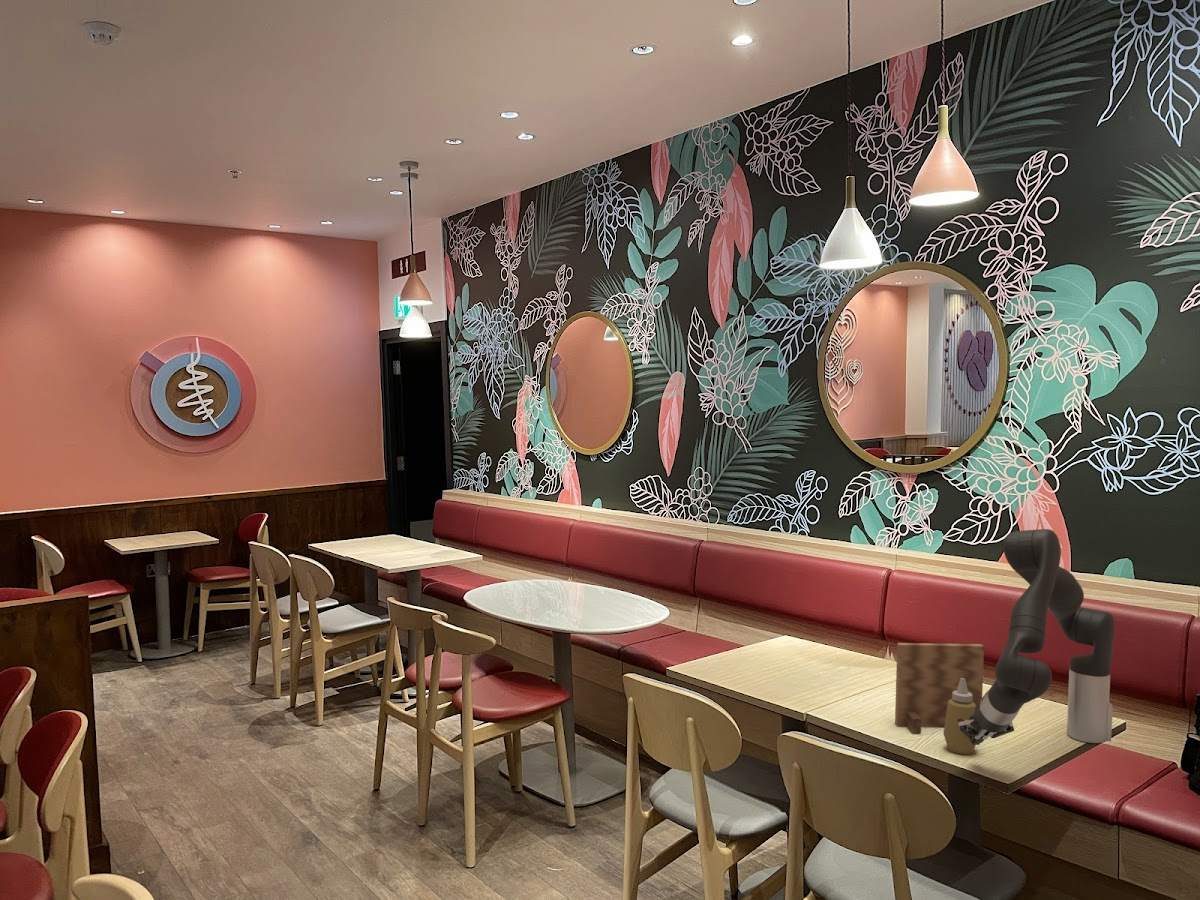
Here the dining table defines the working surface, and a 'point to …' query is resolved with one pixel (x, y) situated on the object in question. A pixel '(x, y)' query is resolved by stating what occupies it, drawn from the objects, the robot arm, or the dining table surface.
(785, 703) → the dining table surface
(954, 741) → the squeeze bottle
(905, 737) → the dining table surface
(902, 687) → the walnut wall board
